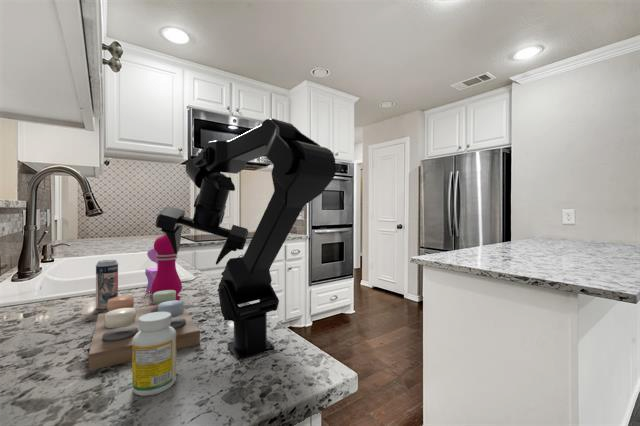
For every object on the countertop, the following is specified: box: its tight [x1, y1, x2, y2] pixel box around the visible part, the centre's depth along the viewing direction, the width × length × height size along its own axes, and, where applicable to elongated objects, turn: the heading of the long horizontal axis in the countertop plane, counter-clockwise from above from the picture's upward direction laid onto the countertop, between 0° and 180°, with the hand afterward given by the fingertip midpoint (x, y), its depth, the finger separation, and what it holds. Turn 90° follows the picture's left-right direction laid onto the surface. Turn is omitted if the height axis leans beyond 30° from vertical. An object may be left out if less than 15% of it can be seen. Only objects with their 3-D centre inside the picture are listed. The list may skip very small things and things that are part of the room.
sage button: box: [152, 290, 176, 305], centre depth 64 cm, size 4×4×2 cm
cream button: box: [105, 307, 135, 328], centre depth 51 cm, size 4×4×2 cm
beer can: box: [95, 259, 119, 310], centre depth 75 cm, size 5×5×12 cm
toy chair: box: [144, 246, 158, 293], centre depth 89 cm, size 8×9×15 cm
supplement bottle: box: [131, 312, 177, 397], centre depth 40 cm, size 5×5×10 cm
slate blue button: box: [158, 299, 185, 318], centre depth 56 cm, size 4×4×2 cm
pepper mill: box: [150, 232, 183, 306], centre depth 77 cm, size 7×7×20 cm
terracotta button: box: [107, 295, 135, 312], centre depth 59 cm, size 4×4×2 cm
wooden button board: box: [88, 305, 201, 372], centre depth 58 cm, size 22×16×3 cm
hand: (197, 258), depth 67 cm, fingers open, 9 cm apart
